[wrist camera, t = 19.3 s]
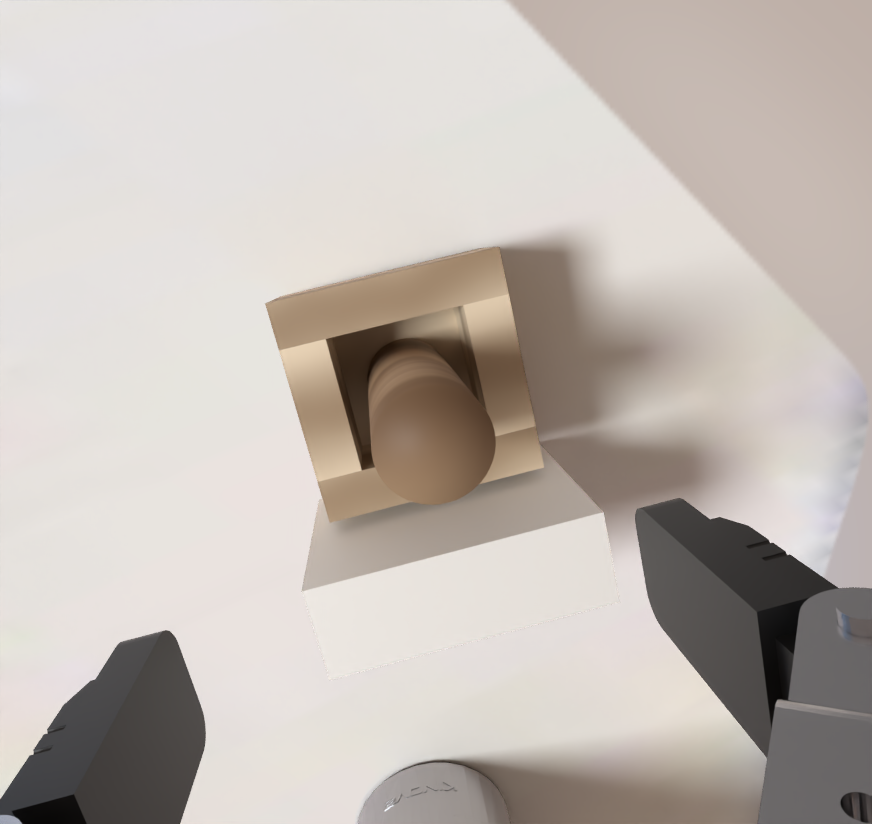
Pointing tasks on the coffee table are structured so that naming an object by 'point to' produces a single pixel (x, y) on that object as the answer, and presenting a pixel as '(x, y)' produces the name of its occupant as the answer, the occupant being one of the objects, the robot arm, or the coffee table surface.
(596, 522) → the wall
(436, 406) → the dowel
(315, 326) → the socket block
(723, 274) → the coffee table surface
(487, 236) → the coffee table surface
